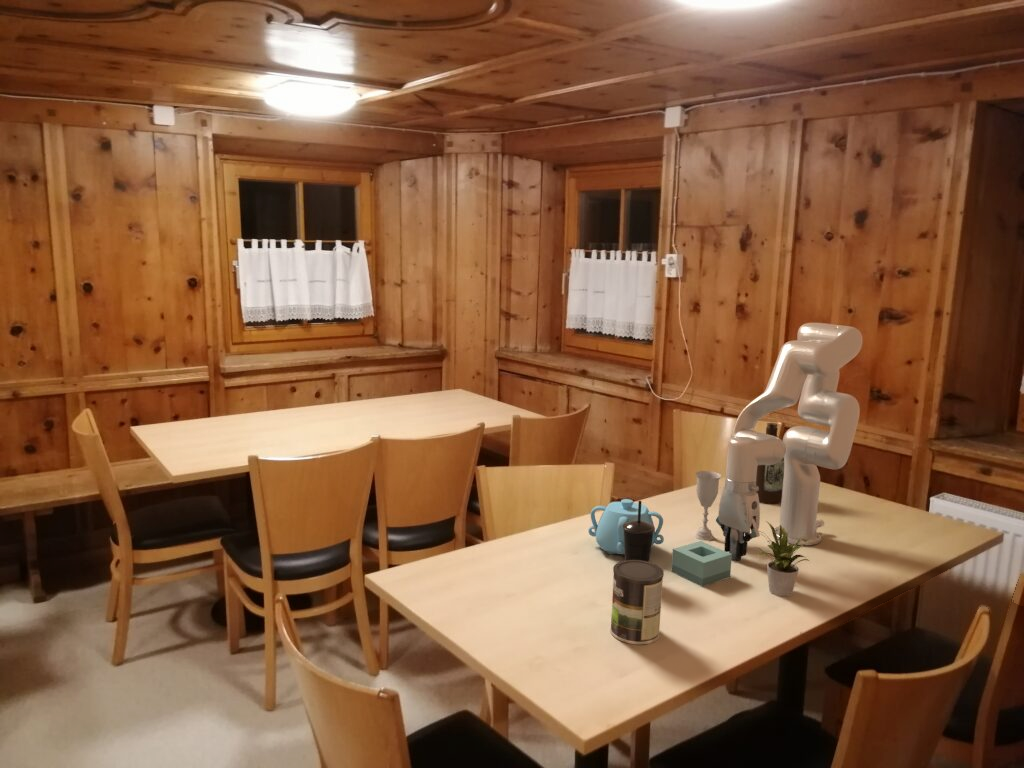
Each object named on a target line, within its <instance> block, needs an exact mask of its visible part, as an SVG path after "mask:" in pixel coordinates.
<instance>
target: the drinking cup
mask: <svg viewBox="0 0 1024 768" xmlns="http://www.w3.org/2000/svg"><path fill="white" fill-rule="evenodd" d="M641 504H642V500H638V520H634V521H630V522H626V523H624V524H623V529H624V548H625V555H624V561H625V560H642V561H647V562H650V558H651V551H652V550H651V549H652V548H651V545H652V538H653V532H654V531H655V532H656V528H655V525H654V526H653V525H652V524H650V523H647V522H645V521H641Z"/></svg>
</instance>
